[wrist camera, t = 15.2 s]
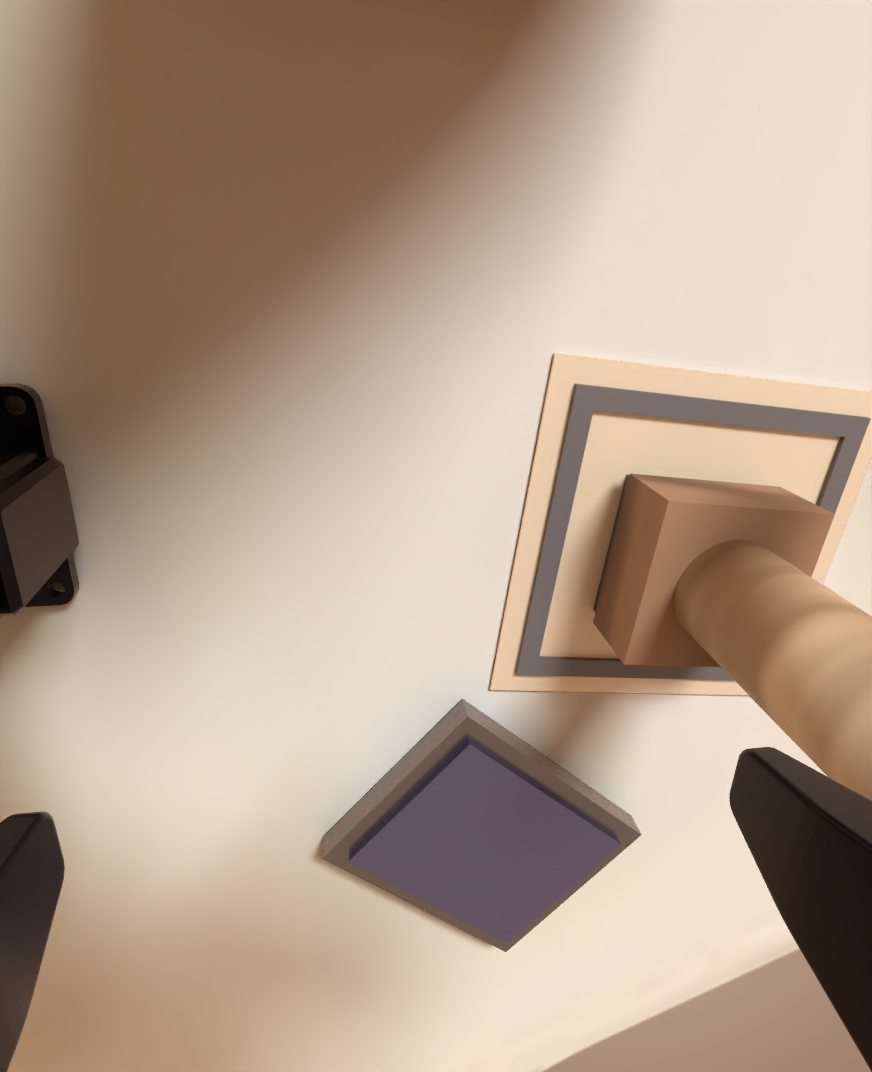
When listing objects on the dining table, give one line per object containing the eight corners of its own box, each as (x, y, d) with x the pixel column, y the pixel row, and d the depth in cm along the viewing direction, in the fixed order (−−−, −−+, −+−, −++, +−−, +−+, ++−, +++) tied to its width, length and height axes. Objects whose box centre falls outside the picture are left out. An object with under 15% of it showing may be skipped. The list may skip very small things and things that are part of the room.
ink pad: (322, 836, 26) (322, 864, 24) (462, 699, 24) (469, 721, 23) (500, 930, 29) (507, 958, 28) (631, 815, 28) (644, 840, 27)
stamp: (586, 613, 23) (815, 924, 12) (622, 468, 21) (931, 685, 10) (723, 619, 24) (1045, 912, 13) (768, 481, 22) (1190, 691, 11)
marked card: (489, 688, 24) (491, 693, 24) (554, 353, 20) (557, 354, 19) (778, 694, 26) (783, 698, 26) (893, 395, 22) (900, 396, 22)
